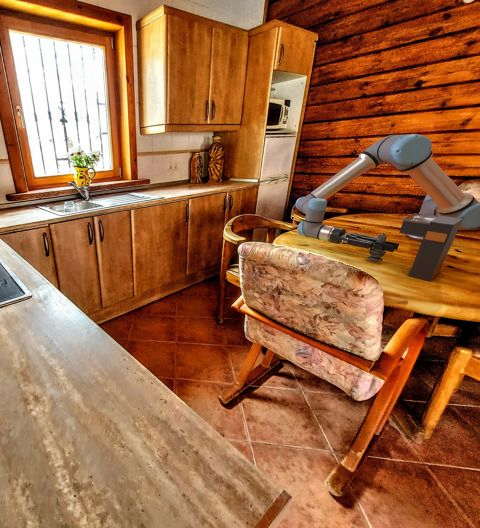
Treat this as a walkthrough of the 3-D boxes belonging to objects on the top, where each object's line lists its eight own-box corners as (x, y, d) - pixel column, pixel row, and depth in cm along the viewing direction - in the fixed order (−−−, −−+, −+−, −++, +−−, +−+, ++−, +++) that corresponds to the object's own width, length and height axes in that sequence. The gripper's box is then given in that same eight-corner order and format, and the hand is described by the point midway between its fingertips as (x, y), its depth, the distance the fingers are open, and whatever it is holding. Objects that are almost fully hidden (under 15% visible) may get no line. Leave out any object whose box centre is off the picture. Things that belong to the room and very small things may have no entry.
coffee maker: (396, 262, 120) (414, 212, 111) (439, 272, 110) (463, 218, 101) (384, 270, 114) (403, 218, 105) (428, 281, 104) (453, 225, 95)
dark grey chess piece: (387, 261, 118) (396, 234, 113) (371, 261, 119) (380, 234, 114) (378, 256, 123) (387, 230, 118) (363, 255, 124) (371, 230, 119)
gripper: (339, 238, 138) (400, 251, 120) (322, 246, 130) (385, 261, 112) (343, 223, 135) (406, 235, 117) (326, 230, 127) (391, 243, 109)
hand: (395, 247), depth 114 cm, fingers closed on dark grey chess piece, 4 cm apart
